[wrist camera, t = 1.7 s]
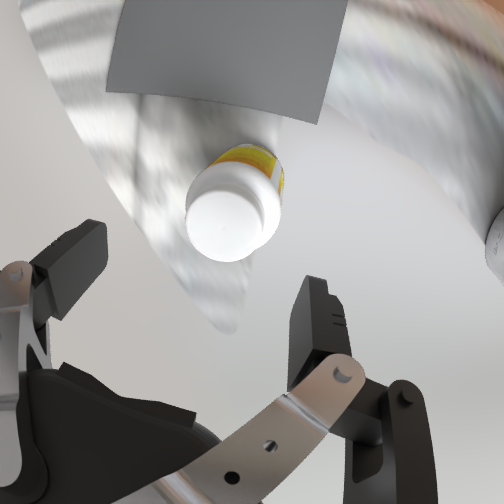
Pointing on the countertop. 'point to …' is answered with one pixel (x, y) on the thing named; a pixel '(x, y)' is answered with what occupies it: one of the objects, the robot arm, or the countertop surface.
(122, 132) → the countertop surface
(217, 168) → the supplement bottle
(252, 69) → the mat
